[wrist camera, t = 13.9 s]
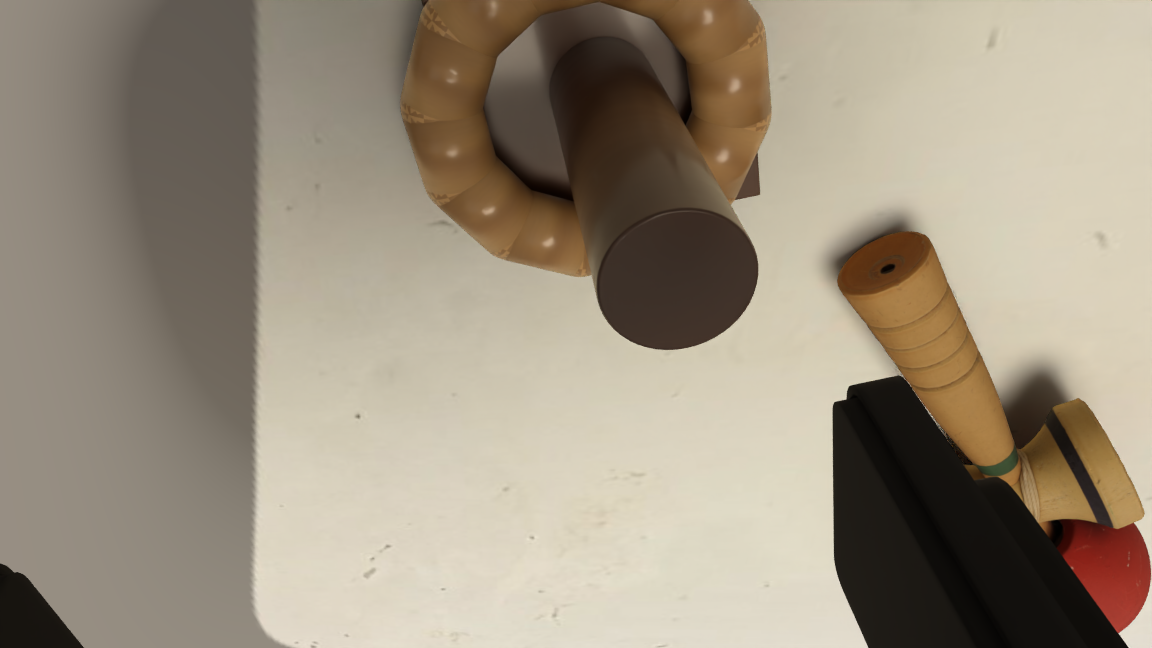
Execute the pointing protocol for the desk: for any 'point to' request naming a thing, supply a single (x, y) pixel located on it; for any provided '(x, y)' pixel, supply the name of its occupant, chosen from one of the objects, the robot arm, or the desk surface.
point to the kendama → (1005, 422)
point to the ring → (464, 146)
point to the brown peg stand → (625, 170)
